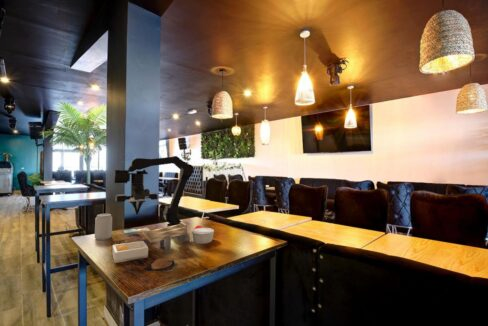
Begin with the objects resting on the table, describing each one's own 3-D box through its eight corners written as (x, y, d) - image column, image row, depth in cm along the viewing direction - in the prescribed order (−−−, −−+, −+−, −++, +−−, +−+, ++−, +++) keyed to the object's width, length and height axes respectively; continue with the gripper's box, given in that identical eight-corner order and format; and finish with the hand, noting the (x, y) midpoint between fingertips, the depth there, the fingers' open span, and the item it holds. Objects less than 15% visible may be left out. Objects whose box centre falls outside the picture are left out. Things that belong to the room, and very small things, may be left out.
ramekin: (195, 245, 113) (195, 234, 114) (188, 239, 123) (189, 228, 123) (217, 242, 119) (217, 232, 119) (209, 236, 129) (209, 226, 129)
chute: (173, 227, 127) (172, 215, 127) (189, 240, 107) (188, 226, 107) (124, 239, 115) (123, 225, 114) (132, 255, 94) (130, 239, 94)
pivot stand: (163, 246, 112) (163, 231, 112) (170, 253, 103) (170, 237, 103) (159, 246, 111) (159, 231, 111) (165, 254, 102) (166, 237, 102)
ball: (123, 255, 100) (130, 246, 101) (125, 258, 96) (131, 249, 98) (115, 251, 98) (121, 242, 99) (115, 254, 94) (122, 245, 96)
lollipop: (209, 233, 135) (210, 211, 135) (192, 234, 131) (193, 212, 131) (207, 230, 140) (208, 209, 140) (191, 231, 137) (191, 210, 137)
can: (103, 241, 117) (104, 216, 117) (90, 239, 119) (91, 215, 119) (115, 236, 124) (115, 213, 125) (102, 235, 126) (103, 212, 126)
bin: (143, 249, 107) (143, 240, 107) (147, 257, 98) (148, 247, 98) (112, 254, 100) (112, 245, 100) (114, 263, 92) (115, 252, 92)
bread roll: (178, 264, 94) (178, 254, 94) (172, 273, 85) (172, 263, 85) (150, 263, 93) (151, 253, 93) (141, 273, 85) (142, 262, 85)
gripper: (118, 185, 108) (117, 219, 108) (160, 183, 119) (160, 215, 119) (115, 183, 118) (114, 215, 117) (155, 182, 128) (154, 211, 128)
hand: (136, 214), depth 120 cm, fingers closed
